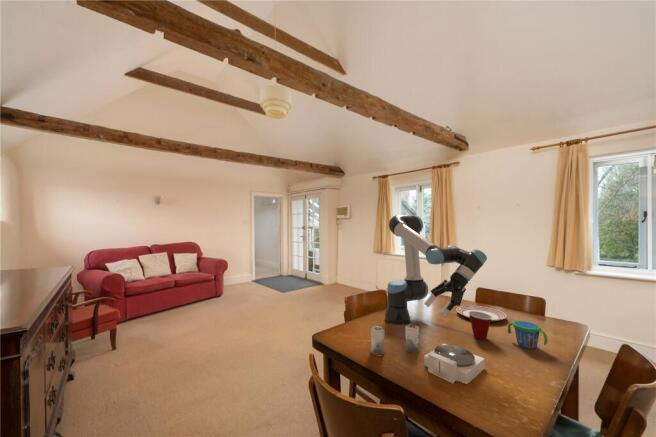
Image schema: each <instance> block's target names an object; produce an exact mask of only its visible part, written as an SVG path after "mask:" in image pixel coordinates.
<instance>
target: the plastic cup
mask: <svg viewBox="0 0 656 437" xmlns="http://www.w3.org/2000/svg"><path fill="white" fill-rule="evenodd" d="M469 315H470V318H469V319H470V324H471V325H470V326H471V329H472V334H473V337H474V338H475V339H477V340H484V341H485V340H486V339H487V338H488V333H489V329H490V323H491V322H490V321H491V319H492V316H490V315H488V314H486V313H482V312H477V311H470V312H469Z"/></svg>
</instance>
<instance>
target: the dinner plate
mask: <svg viewBox="0 0 656 437" xmlns="http://www.w3.org/2000/svg"><path fill="white" fill-rule="evenodd" d="M455 311H456V312H457V313H459V315H461V316H463V317H466V318H468V319H470V315H469V312H470V311H477V312H482V313H486V314H488V315H490V316H492V319H491V321H490V323H491V322H498V321H499V322H500V321H503V320H505V319H506V318H507V314H506V313H505V312H503V311H502V310H498V309H495V308H493V307H492V308H491V307H486V306H480V305H462V306H461V305H460V306H457V308H456V309H455Z"/></svg>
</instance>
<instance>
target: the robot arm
mask: <svg viewBox="0 0 656 437" xmlns="http://www.w3.org/2000/svg"><path fill="white" fill-rule="evenodd" d="M388 229H389V230H390V232H391V233H392V234H393V235H395V236H396V237H398V238H399V237H400V238H401V239H403V245H404V247H403V248H404V258H405V259H404V260H405V272H406V273H405V274H406V276H404V279H396V280H395V279H394V280H392V281H389V282H388V283H387V288H386V291H387V307H386V310H385V314H384V320H385V321H386V322H387V323H389V324H394V325H400V326H401V325H408V324H411V316H410V312H409V309H408V302H413V301H421V300H423V299H425V298H427V296H428V294H429V286H428V284H427V282H426V281H425V280H424V277H422V275H421V263H420V253H421V254H423V255H424V256H425V259H426V261H427V262H428V263H429V264H430V265H442V264H452V263H456V264H459V266H458V267H457V268H456V269H455V271H454V272H452V274H451V275H450V277H449V279H450V280H449V281H448V280H447V279H444V280H443V281H442V282H440V284H438V285H437V286H435V287H433V288H432V289H430V293H431V295H429V297H428V298H427V299H426V300H425V301H424V303H423V304H424V305H425V306H426V307H427V308H429V307H430V306H431V305H432V304H433V303H434V301H435V300H436V299H437V298H438V297H439V296H440V295H442V294H444V293H451V295H450V300H449V301H448V302H447V303H446V304H445V305H444V307H443V308H442V309H441V310H440V311H439V312H440V315H441V316H443V317H446V316H447V315H448V314H449V313H450V312H451V311H452V309H454V307H456V306H457V307H461V304H462V300H463V296H464V294H465V292H466V290H467V288H466V286H467V285H468V284H469V282H470V281H471V280H472V279H473V277H474V276H475V275H476V273H478V271H479V270H480V269H481V268H482V267H483V266H484V264H485V263H486V262H487V260H488V257H487V255H486V254H485V253H484V252H483V251H481V250H479V249H476V248H474V249H472V250H470V251H467V250H465V249H462V248H460V247H458V246H454V245H452V244H451V245H447V246H446V247H445V248H441V247H439V246H438V245H436V244H434V243H433V242H432V241H431V240H428V239H427V238H425V237H424V236H423V235H421V232H422V231H423V229H424V222H423V220H422V218H421V217H420V216H418V215H416V214H396V215H394V216H391V218H390V219H389V220H388Z"/></svg>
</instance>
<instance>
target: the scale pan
mask: <svg viewBox="0 0 656 437" xmlns="http://www.w3.org/2000/svg"><path fill="white" fill-rule="evenodd" d="M434 349H435V350H434ZM434 349H433V350H434V353H436V354H438V355H441V356H443V357H446V358H448V359H451V360H453V361H455V362H457V366H468V365H472V364H473V363H474V362H475V357H474V355H475V354H474V355H473V353H472V352H471V351H469V350H467V349H466V348H463V347H461V346H456V345H453V344H446V345H443V344H441V345H438V346H436V347H435V348H434Z"/></svg>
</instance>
